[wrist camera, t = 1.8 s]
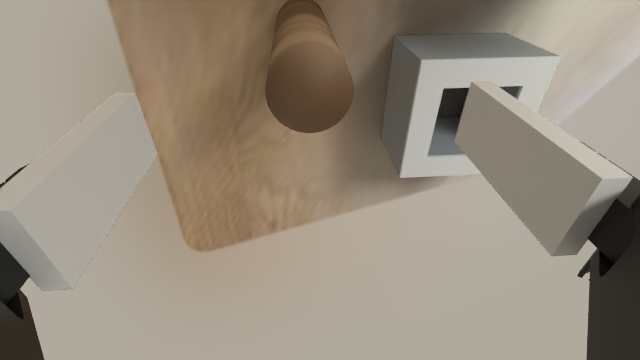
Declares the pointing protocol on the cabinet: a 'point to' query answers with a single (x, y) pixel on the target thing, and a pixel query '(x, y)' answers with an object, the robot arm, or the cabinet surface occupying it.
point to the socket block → (452, 72)
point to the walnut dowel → (307, 71)
